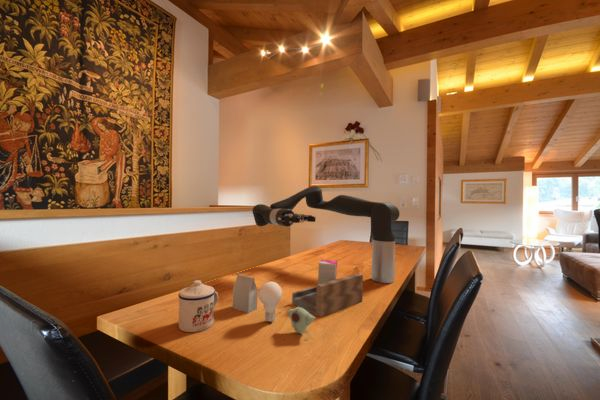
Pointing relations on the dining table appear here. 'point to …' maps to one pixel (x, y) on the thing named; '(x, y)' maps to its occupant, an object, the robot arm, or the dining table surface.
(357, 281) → the cleat board
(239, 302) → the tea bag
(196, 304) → the teacup with lid
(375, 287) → the dining table surface
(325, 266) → the supplement box
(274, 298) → the lightbulb
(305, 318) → the pale green triangular piece
